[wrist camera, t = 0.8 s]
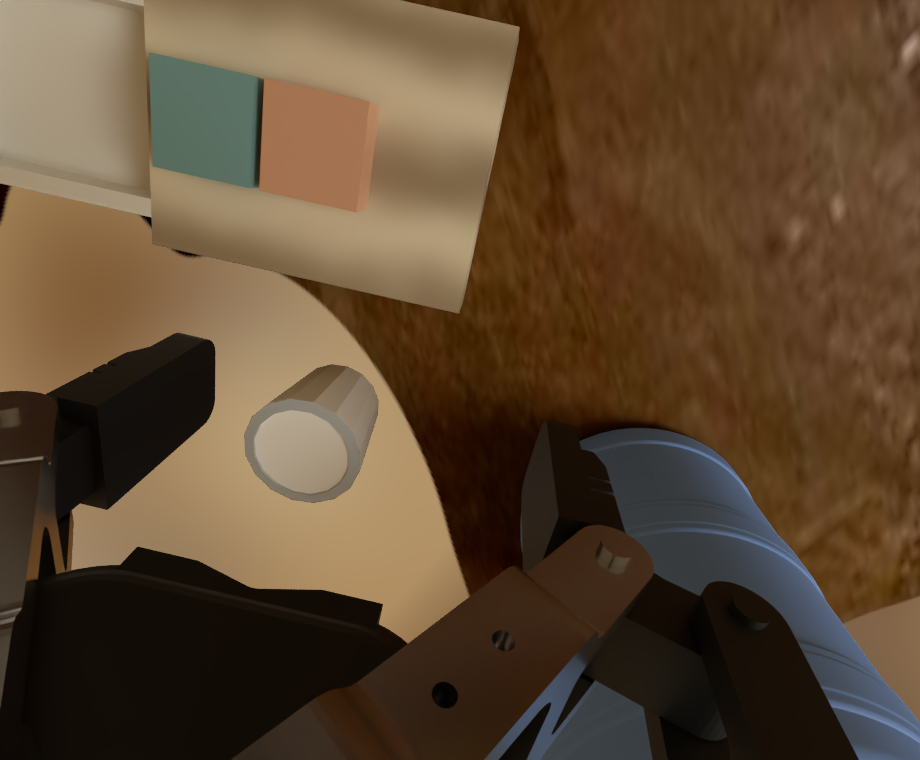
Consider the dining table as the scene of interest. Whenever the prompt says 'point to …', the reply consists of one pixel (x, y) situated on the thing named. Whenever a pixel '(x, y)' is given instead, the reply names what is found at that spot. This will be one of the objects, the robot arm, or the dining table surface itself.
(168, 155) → the teal tile
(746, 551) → the water jug
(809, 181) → the dining table surface
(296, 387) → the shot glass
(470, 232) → the birch board
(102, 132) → the box
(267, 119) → the terracotta tile
